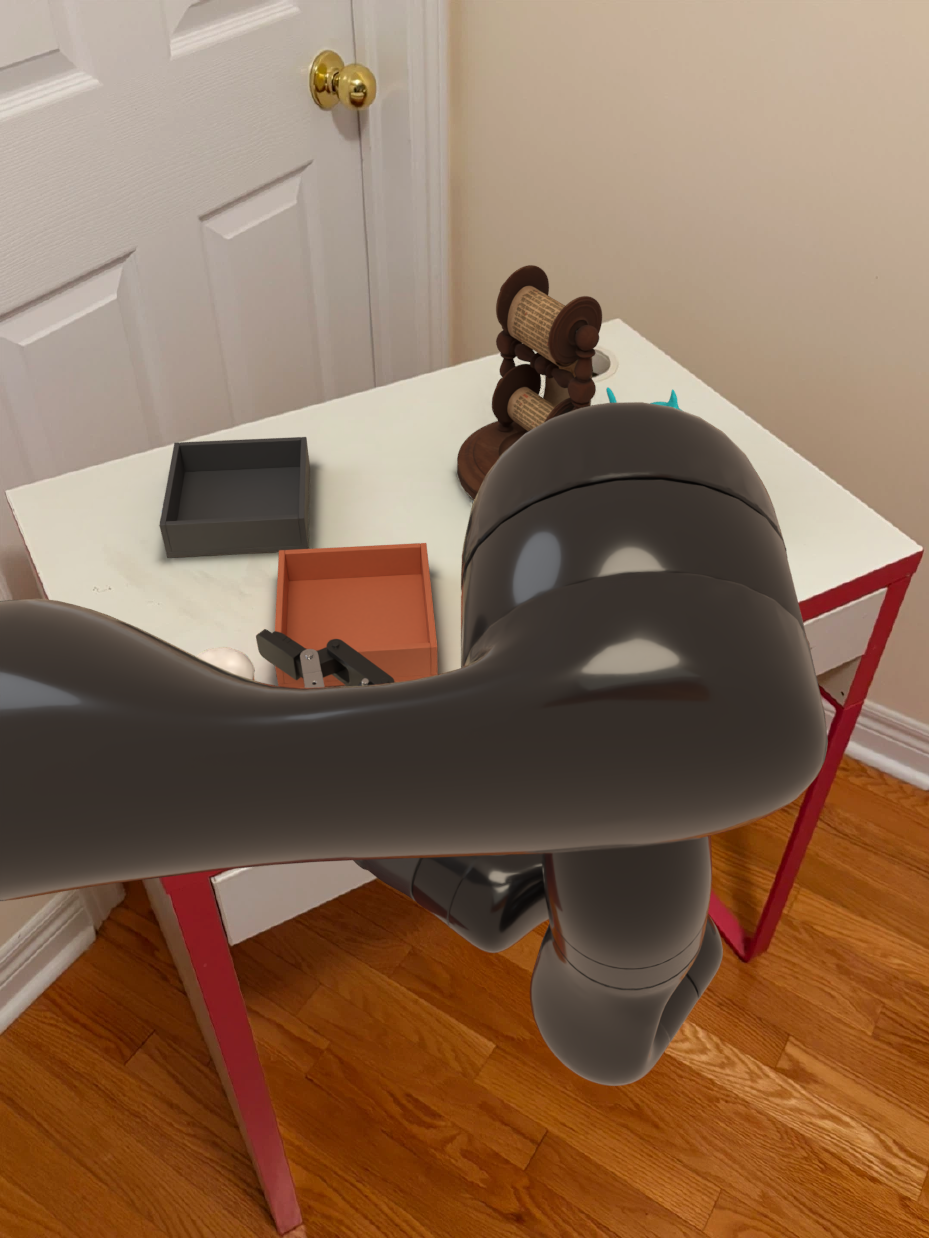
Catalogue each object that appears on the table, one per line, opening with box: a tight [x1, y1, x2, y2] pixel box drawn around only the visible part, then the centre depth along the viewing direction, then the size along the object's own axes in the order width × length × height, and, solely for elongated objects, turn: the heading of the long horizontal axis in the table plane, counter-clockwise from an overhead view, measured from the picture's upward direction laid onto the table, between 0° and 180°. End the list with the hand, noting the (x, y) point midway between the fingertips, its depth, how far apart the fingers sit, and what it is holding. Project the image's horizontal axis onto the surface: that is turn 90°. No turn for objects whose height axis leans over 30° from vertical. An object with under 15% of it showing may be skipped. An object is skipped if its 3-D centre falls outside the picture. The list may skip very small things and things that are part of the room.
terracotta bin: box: [274, 542, 439, 688], centre depth 82 cm, size 12×12×4 cm
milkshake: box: [195, 646, 256, 681], centre depth 71 cm, size 4×5×10 cm
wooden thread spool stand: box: [456, 264, 603, 501], centre depth 91 cm, size 15×15×20 cm
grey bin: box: [158, 436, 311, 559], centre depth 93 cm, size 12×12×4 cm
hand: (212, 675), depth 69 cm, fingers open, 8 cm apart
